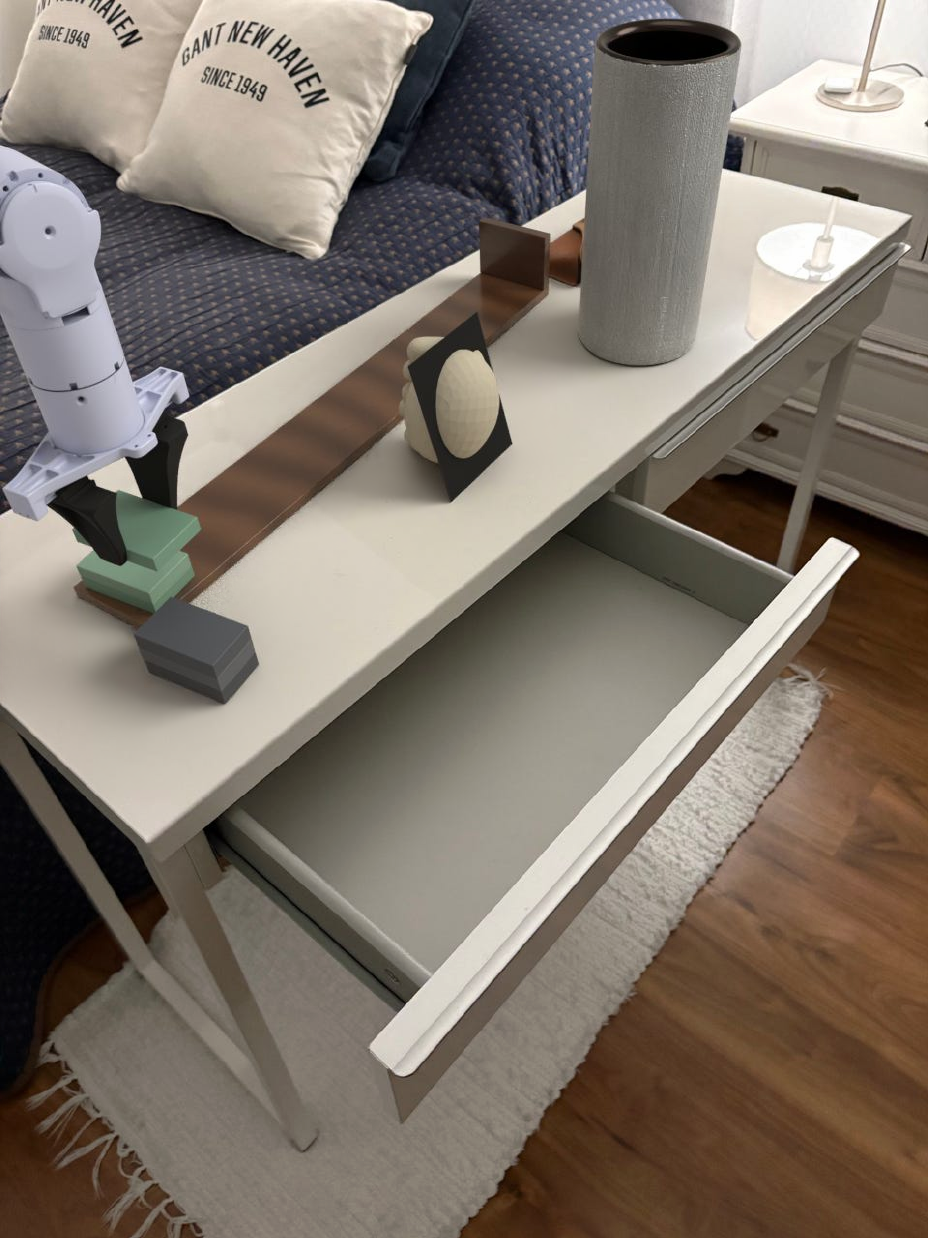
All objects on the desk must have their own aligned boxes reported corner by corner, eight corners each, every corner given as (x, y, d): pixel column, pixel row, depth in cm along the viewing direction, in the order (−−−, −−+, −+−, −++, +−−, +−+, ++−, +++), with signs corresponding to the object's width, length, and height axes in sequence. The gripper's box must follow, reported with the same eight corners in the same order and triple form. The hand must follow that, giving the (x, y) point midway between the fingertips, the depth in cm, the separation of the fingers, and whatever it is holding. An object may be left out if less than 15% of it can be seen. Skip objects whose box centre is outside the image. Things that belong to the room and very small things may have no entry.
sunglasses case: (605, 208, 121) (633, 167, 116) (644, 248, 121) (674, 209, 116) (522, 265, 112) (548, 223, 106) (564, 308, 112) (592, 269, 106)
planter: (718, 331, 101) (770, 33, 81) (651, 381, 95) (689, 73, 75) (622, 295, 107) (649, 9, 87) (554, 340, 101) (565, 44, 81)
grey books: (225, 704, 69) (212, 666, 66) (148, 672, 71) (132, 634, 68) (259, 664, 71) (248, 625, 68) (184, 634, 74) (170, 596, 71)
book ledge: (151, 636, 74) (124, 570, 69) (76, 596, 77) (46, 529, 72) (548, 294, 108) (550, 233, 103) (485, 276, 111) (484, 216, 106)
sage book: (157, 572, 65) (152, 559, 64) (77, 542, 67) (71, 529, 66) (201, 529, 68) (197, 516, 67) (122, 502, 70) (118, 489, 69)
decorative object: (387, 493, 88) (449, 438, 94) (477, 505, 82) (537, 445, 87) (340, 364, 81) (410, 312, 86) (434, 367, 74) (504, 310, 80)
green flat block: (156, 615, 74) (148, 593, 72) (85, 587, 76) (75, 565, 75) (195, 575, 77) (188, 553, 75) (125, 550, 79) (116, 528, 78)
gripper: (37, 448, 52) (112, 621, 62) (203, 322, 61) (246, 491, 71) (-56, 417, 54) (31, 588, 64) (117, 299, 63) (170, 466, 73)
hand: (138, 535), depth 68 cm, fingers closed on sage book, 5 cm apart
